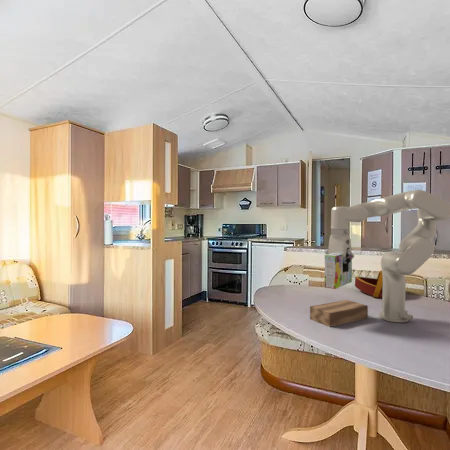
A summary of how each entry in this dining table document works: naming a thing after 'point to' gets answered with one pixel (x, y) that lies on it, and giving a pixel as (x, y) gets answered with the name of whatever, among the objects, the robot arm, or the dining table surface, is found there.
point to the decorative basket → (370, 285)
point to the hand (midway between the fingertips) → (338, 270)
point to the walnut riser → (338, 312)
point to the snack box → (336, 271)
